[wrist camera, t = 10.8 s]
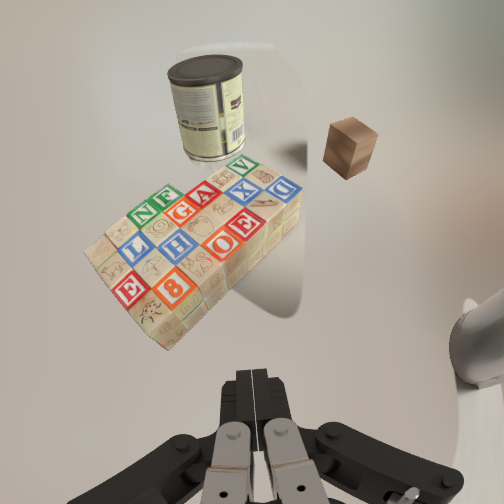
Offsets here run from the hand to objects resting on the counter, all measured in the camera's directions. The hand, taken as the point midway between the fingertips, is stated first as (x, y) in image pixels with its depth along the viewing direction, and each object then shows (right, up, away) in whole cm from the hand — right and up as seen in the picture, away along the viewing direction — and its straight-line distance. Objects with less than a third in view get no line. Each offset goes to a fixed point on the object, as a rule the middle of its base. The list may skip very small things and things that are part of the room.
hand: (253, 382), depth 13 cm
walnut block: (+14, +20, +28) cm, 37 cm away
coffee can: (-6, +24, +31) cm, 40 cm away
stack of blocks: (-1, +5, +15) cm, 16 cm away
